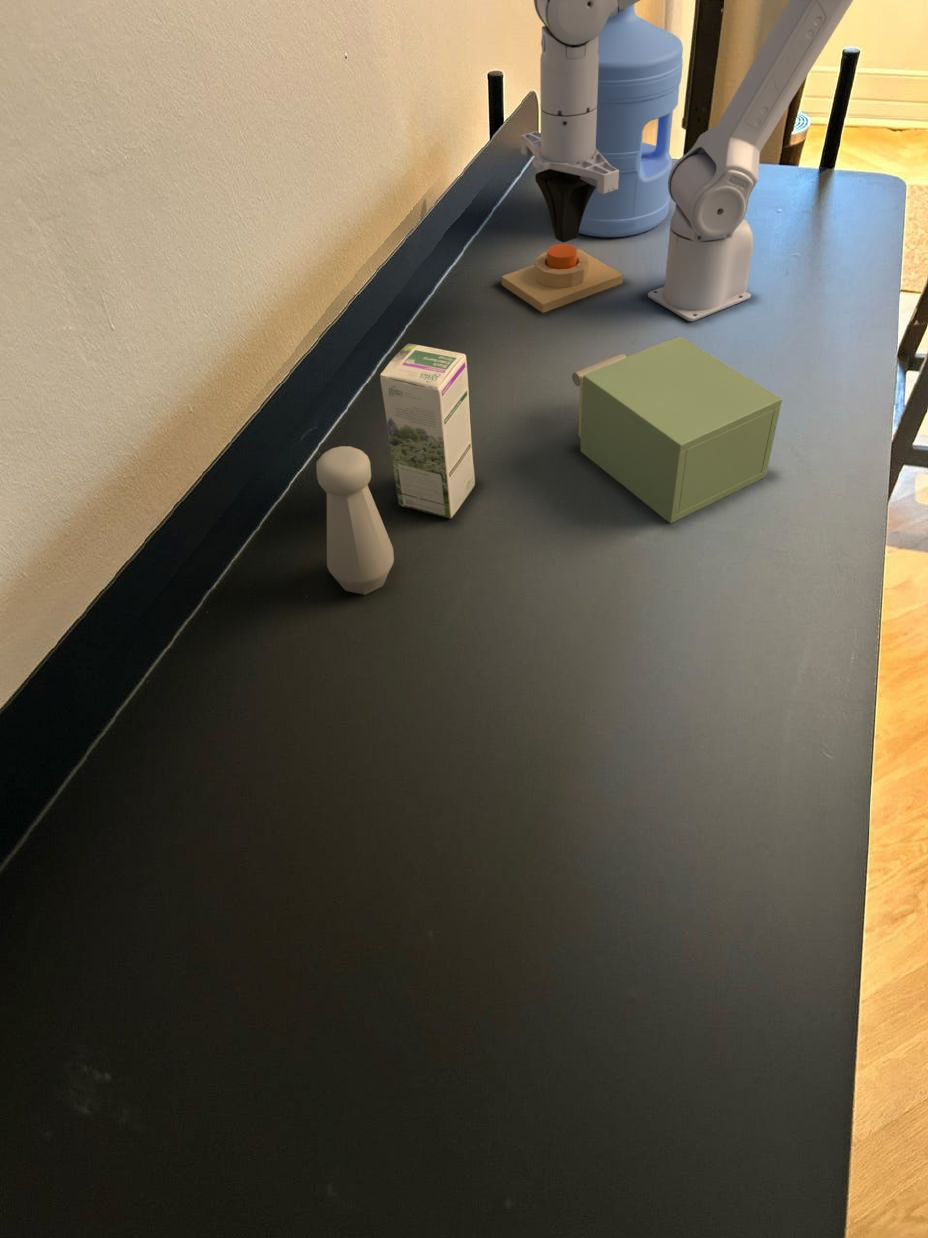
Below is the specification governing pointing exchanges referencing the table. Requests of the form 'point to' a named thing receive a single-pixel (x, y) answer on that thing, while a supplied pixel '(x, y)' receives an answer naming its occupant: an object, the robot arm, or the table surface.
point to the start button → (562, 256)
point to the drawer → (578, 375)
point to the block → (560, 281)
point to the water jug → (634, 124)
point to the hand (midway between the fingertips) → (566, 238)
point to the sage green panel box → (677, 427)
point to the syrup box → (429, 428)
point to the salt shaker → (353, 522)
